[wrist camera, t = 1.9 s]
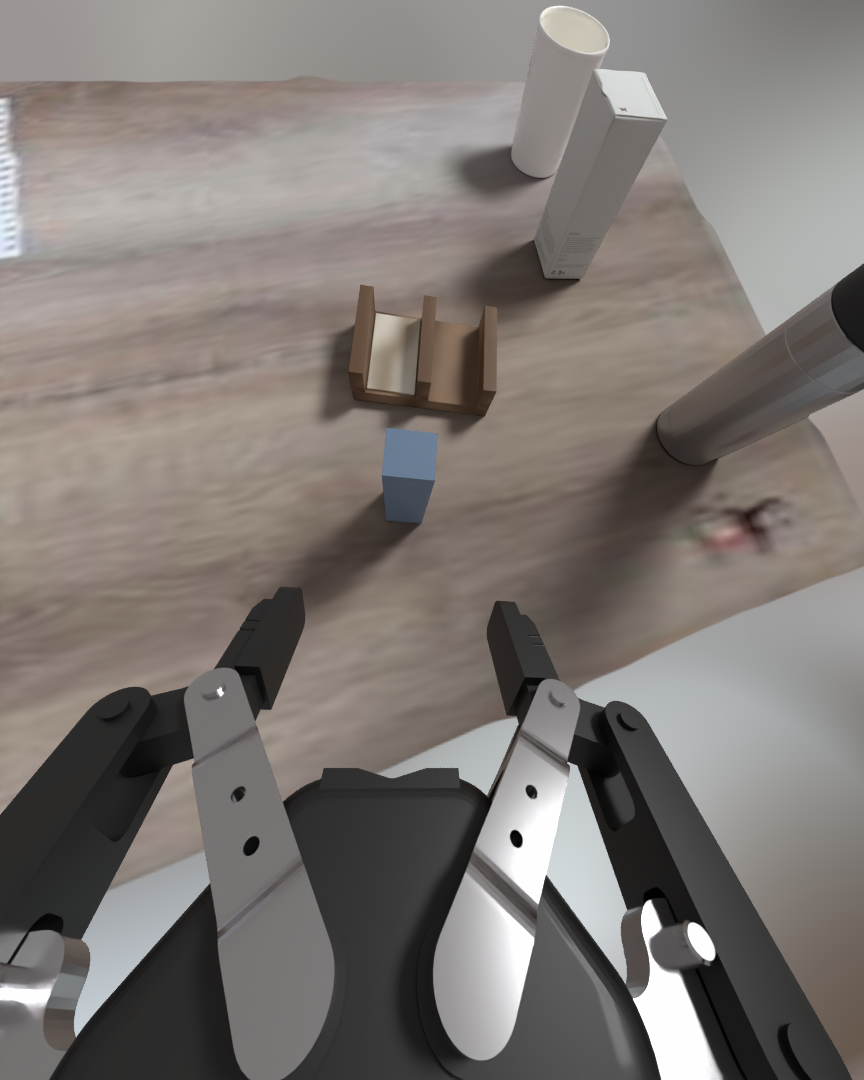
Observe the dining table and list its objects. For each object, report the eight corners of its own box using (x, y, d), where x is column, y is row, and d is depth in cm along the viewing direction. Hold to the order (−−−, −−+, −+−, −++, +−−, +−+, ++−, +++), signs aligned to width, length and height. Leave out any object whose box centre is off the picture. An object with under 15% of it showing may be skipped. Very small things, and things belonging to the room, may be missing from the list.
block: (423, 490, 36) (437, 433, 24) (421, 523, 35) (434, 480, 23) (389, 487, 35) (386, 427, 24) (386, 520, 34) (381, 475, 23)
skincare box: (581, 281, 46) (672, 122, 31) (541, 280, 45) (614, 116, 30) (569, 238, 48) (649, 69, 33) (530, 237, 47) (594, 61, 32)
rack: (486, 339, 42) (496, 307, 37) (484, 416, 39) (496, 391, 34) (364, 320, 40) (360, 284, 35) (353, 399, 37) (348, 371, 33)
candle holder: (535, 133, 53) (575, -1, 41) (573, 171, 52) (624, 44, 40) (494, 150, 50) (524, 12, 39) (532, 189, 49) (574, 60, 38)
